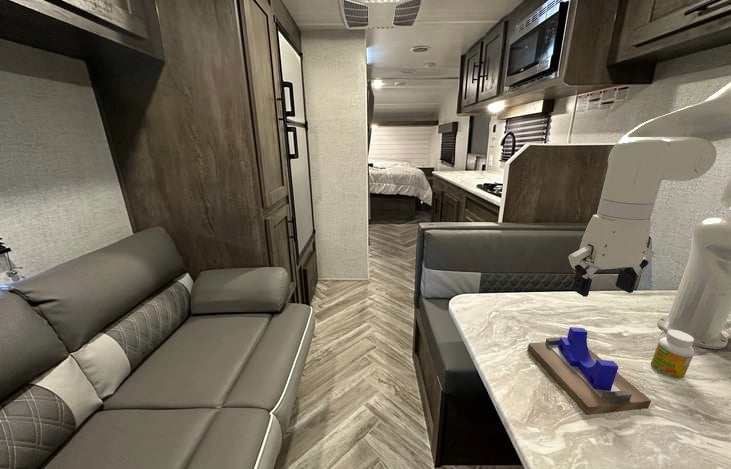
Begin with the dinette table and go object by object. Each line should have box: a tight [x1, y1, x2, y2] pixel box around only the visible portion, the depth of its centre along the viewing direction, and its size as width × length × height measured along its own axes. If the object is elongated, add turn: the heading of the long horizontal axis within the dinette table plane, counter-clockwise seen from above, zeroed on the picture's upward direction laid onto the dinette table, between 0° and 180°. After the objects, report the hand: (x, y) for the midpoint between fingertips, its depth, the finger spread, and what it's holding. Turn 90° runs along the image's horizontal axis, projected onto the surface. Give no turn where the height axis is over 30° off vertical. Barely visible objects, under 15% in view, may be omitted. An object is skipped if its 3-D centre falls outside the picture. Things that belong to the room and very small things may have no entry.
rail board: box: [527, 336, 652, 416], centre depth 64 cm, size 13×18×4 cm
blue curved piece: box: [558, 326, 620, 391], centre depth 63 cm, size 12×4×6 cm, turn 171°
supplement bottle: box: [650, 330, 695, 381], centre depth 64 cm, size 5×5×10 cm
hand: (601, 291), depth 59 cm, fingers open, 9 cm apart
